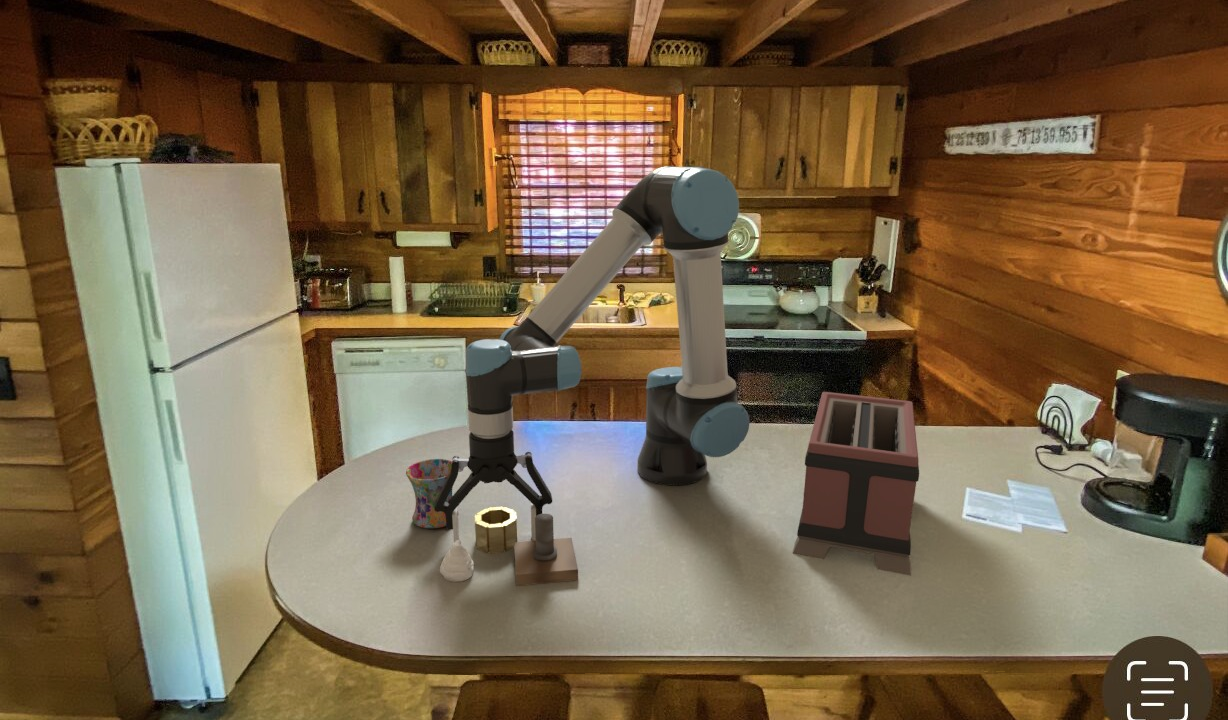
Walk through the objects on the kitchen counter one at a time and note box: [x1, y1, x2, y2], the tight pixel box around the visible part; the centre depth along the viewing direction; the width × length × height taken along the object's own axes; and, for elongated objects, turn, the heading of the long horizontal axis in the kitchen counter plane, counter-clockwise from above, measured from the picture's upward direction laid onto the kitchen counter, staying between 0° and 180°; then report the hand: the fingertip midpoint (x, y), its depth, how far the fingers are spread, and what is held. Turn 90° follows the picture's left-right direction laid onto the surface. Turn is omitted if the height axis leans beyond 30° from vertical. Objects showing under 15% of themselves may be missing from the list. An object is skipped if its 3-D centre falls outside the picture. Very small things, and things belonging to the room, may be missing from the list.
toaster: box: [792, 391, 920, 576], centre depth 135 cm, size 19×34×21 cm, turn 160°
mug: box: [405, 458, 453, 529], centre depth 136 cm, size 12×9×11 cm
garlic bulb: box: [439, 539, 475, 583], centre depth 118 cm, size 6×6×5 cm
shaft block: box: [513, 513, 579, 586], centre depth 120 cm, size 10×10×9 cm
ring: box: [474, 506, 518, 554], centre depth 128 cm, size 7×7×5 cm
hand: (495, 541), depth 128 cm, fingers open, 13 cm apart
